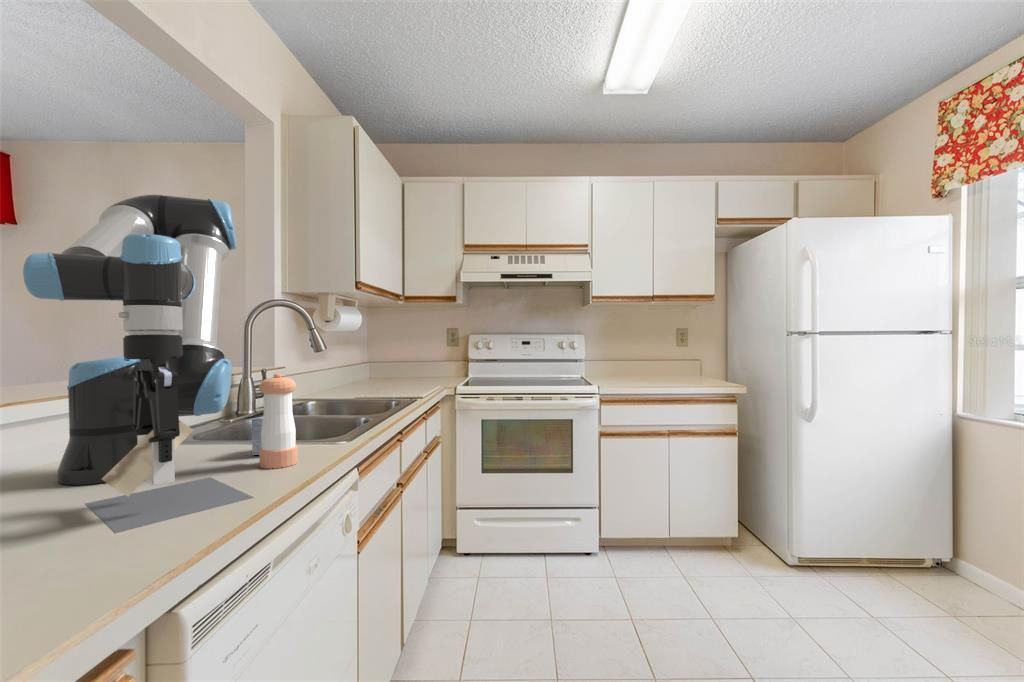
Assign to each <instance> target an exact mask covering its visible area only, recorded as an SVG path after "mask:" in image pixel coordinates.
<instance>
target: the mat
mask: <svg viewBox="0 0 1024 682" xmlns="http://www.w3.org/2000/svg"><path fill="white" fill-rule="evenodd" d="M254 498H255V497H254V496H252V495H251V494H248V493H246V492H244V491H241V490H239V489H237V488H234V487H233V486H231V485H228V484H226V483H224V482H221V481H220V480H217V479H215V478H213V477H204V478H201V479H200V478H199V479H196V480H195V479H194V480H189V481H185V482H180V483H175V484H172V485H167V486H166V485H165V486H162V487H161V486H160V487H157V488H151V489H148V490H142V491H138V492H132V493H131V494H130V495H129V497H128V496H126V495H125V494H123V495H119V496H115V497H110V498H105V499H101V500H96V501H91V502H86V503H85V504H84V505H86V506H87V508H89V510H91V511H92V512H93V513H94V514H95V515H96V517H98V518H99V519H100V520H101V521H102V522H103V523H104V524H105V525H106V526H107V527H108V528H109V529H110V530H112V531H113V533H114V534H118V533H122V532H127V531H129V530H132V529H133V530H134V529H137V528H141V527H145V526H148V525H149V526H150V525H153V524H157V523H161V522H163V521H164V522H165V521H169V520H172V519H177V518H180V517H185V516H187V515H192V514H196V513H201V512H203V511H208V510H211V509H215V508H219V507H223V506H226V505H230V504H234V503H239V502H242V501H246V500H247V501H248V500H250V499H254Z"/></svg>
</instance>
